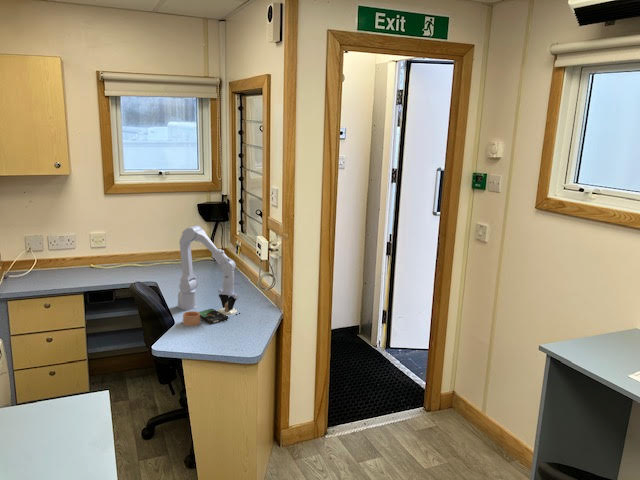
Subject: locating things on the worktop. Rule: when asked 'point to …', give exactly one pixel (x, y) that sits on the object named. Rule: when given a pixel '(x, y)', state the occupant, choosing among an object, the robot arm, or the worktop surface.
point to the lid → (227, 310)
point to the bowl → (191, 318)
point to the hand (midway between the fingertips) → (227, 308)
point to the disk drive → (212, 316)
